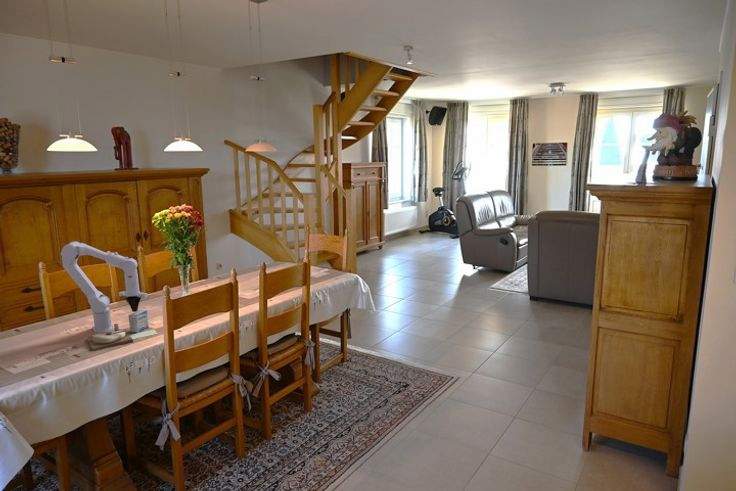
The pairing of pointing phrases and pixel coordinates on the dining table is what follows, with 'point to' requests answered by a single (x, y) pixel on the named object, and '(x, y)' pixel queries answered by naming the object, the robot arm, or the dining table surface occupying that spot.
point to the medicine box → (138, 321)
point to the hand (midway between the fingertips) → (135, 311)
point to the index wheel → (109, 335)
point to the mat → (143, 334)
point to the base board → (105, 345)
